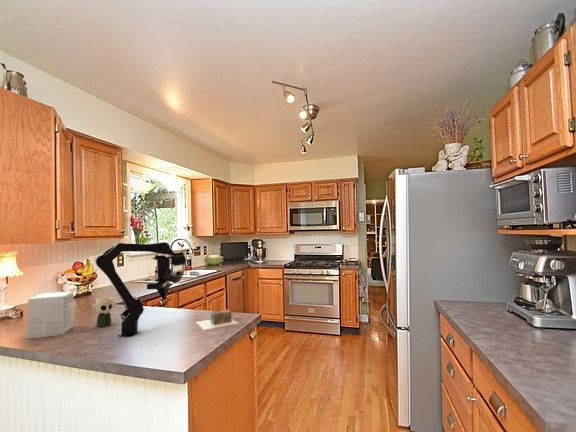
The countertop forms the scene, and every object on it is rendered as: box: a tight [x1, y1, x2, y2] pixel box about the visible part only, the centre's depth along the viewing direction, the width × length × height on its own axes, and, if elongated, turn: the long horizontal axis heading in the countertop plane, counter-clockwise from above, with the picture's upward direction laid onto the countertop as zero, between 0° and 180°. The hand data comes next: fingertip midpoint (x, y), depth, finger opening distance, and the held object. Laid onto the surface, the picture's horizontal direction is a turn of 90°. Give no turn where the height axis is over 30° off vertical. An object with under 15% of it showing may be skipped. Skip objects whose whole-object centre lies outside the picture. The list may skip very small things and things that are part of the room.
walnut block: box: [210, 308, 232, 325], centre depth 140 cm, size 5×5×9 cm
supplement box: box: [25, 290, 74, 340], centre depth 131 cm, size 13×13×18 cm
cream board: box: [196, 317, 239, 331], centre depth 139 cm, size 17×14×1 cm
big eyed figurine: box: [91, 297, 117, 327], centre depth 140 cm, size 11×7×13 cm, turn 145°
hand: (164, 299), depth 138 cm, fingers closed
